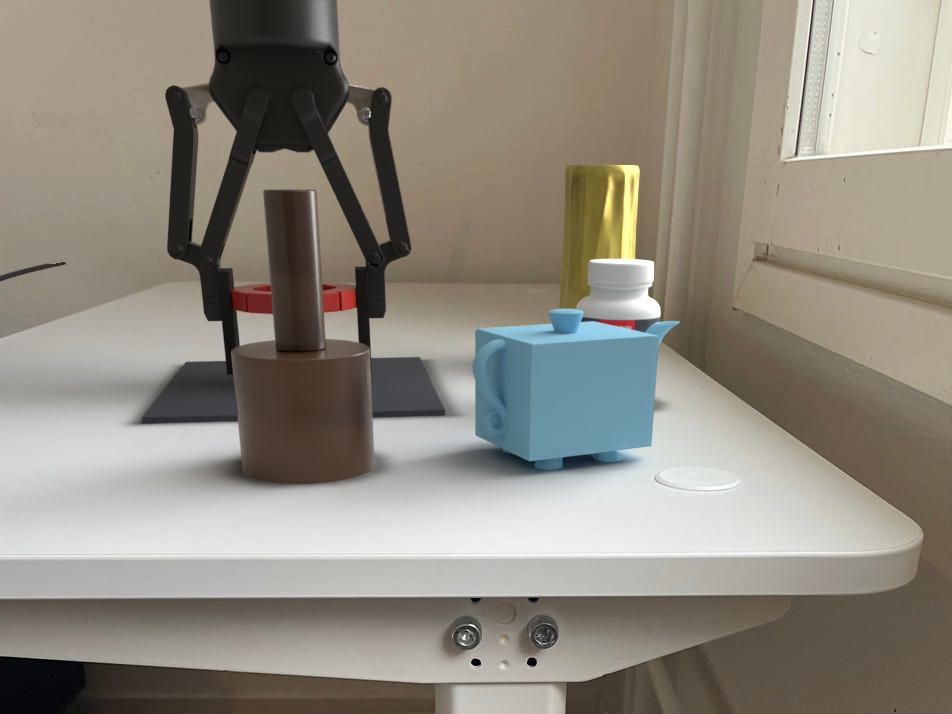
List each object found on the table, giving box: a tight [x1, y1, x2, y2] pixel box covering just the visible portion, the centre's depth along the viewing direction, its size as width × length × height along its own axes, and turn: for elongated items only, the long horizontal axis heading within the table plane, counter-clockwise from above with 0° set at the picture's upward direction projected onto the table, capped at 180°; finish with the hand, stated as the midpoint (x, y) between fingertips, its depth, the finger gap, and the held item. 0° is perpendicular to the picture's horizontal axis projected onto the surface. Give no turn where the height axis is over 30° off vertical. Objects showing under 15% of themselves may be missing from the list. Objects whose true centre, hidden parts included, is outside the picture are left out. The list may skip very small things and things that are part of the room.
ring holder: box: [231, 188, 376, 485], centre depth 49 cm, size 7×7×13 cm
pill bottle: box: [576, 258, 661, 333], centre depth 64 cm, size 5×5×9 cm
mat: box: [141, 356, 446, 425], centre depth 70 cm, size 20×18×1 cm
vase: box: [558, 164, 641, 309], centre depth 75 cm, size 6×6×14 cm
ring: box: [231, 281, 357, 315], centre depth 68 cm, size 8×8×1 cm
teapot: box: [472, 308, 681, 471], centre depth 53 cm, size 12×6×8 cm, turn 116°
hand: (300, 369), depth 70 cm, fingers closed on ring, 8 cm apart
